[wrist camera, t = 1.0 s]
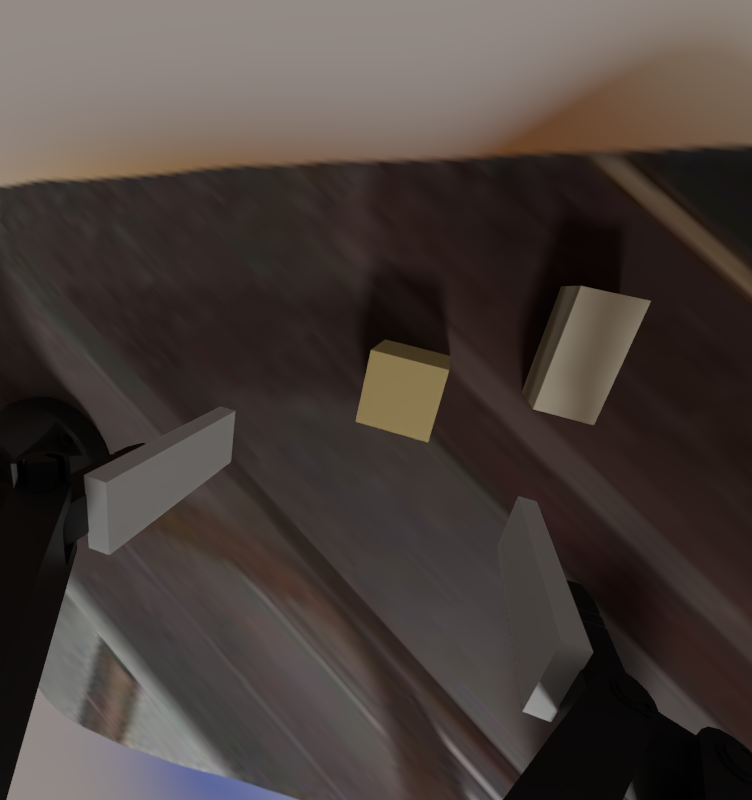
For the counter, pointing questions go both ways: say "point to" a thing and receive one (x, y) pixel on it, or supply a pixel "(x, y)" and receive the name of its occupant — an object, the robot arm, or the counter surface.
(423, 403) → the ochre cube
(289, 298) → the counter surface
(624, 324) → the birch plinth
